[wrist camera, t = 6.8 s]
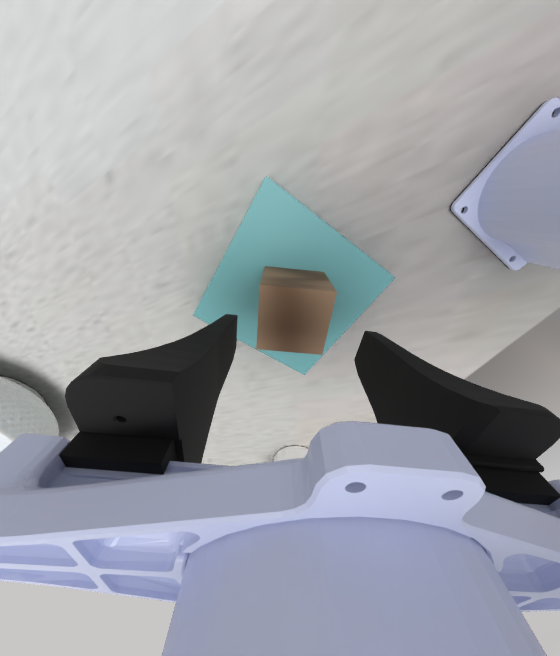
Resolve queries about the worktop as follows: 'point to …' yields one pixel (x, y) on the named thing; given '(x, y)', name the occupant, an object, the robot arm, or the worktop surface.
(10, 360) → the worktop surface
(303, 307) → the walnut cube
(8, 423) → the cereal bowl
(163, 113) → the worktop surface
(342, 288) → the teal box
